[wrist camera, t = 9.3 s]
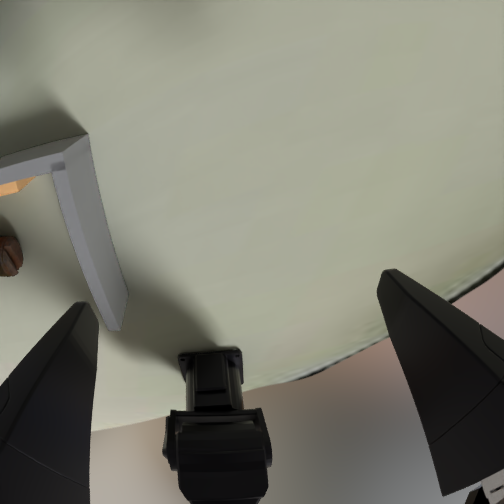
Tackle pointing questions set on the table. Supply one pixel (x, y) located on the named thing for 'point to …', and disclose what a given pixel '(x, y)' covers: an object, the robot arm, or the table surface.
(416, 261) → the table surface
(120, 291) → the grey shallow open frame
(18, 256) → the bolt
